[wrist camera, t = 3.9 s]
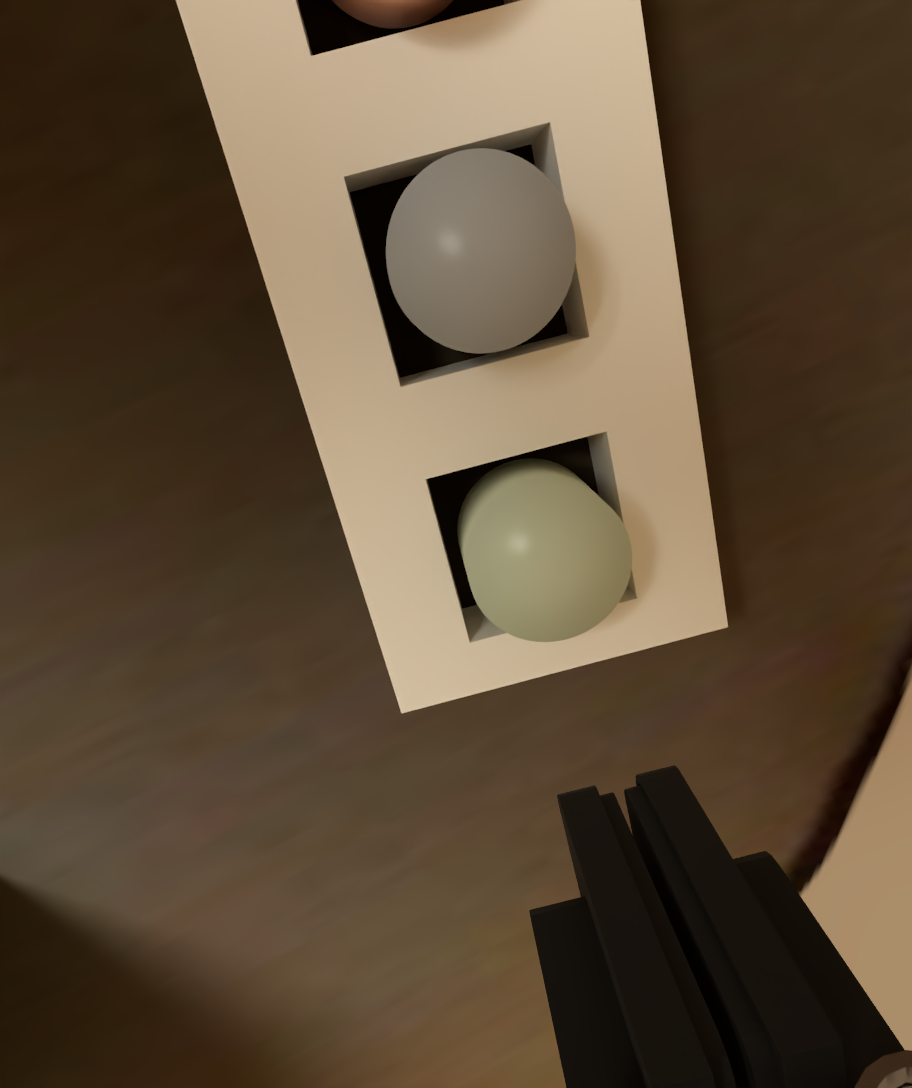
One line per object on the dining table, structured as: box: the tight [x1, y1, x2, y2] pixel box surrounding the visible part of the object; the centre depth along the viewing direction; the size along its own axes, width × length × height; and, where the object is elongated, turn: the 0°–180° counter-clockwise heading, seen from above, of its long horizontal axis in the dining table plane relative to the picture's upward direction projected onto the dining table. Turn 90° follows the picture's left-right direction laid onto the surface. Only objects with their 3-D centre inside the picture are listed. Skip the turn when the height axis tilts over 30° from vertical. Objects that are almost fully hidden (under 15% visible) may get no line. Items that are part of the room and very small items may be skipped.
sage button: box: [457, 458, 632, 642], centre depth 24 cm, size 5×5×4 cm
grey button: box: [386, 148, 576, 354], centre depth 21 cm, size 5×5×4 cm
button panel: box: [176, 0, 728, 713], centre depth 23 cm, size 28×12×3 cm, turn 14°
